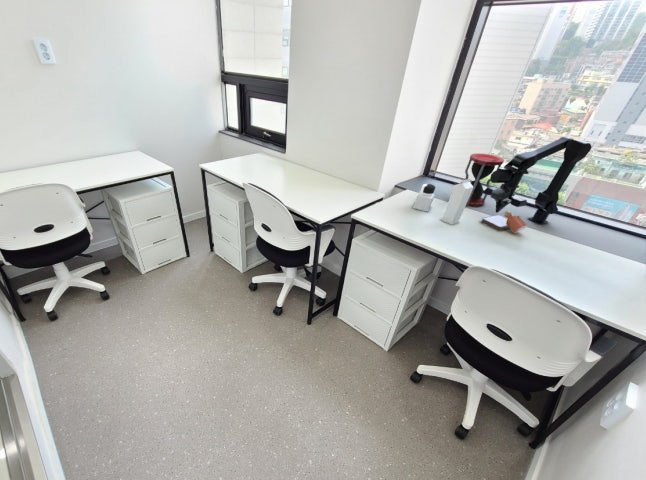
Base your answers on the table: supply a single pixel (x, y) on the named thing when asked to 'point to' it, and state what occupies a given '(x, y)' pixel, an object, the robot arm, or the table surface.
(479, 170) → the hourglass
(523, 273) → the table surface
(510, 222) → the bottle
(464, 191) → the milk
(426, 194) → the container
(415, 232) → the table surface
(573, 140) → the robot arm
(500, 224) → the riser
